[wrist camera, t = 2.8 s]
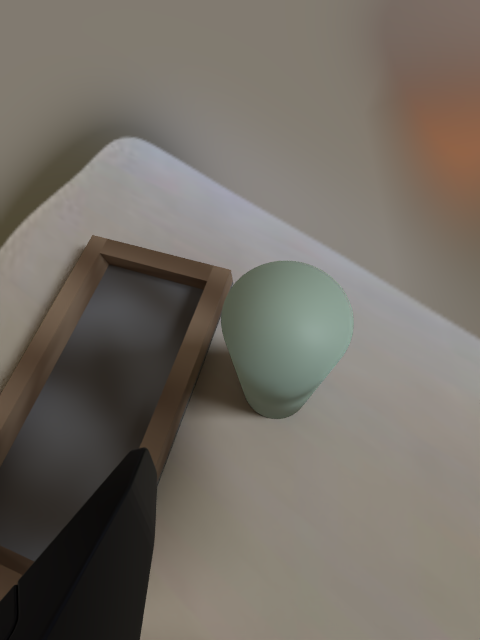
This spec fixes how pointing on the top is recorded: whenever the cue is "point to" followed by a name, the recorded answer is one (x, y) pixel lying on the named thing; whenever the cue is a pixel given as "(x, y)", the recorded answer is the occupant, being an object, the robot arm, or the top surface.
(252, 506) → the top surface
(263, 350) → the post
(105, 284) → the brown wooden flat tray
